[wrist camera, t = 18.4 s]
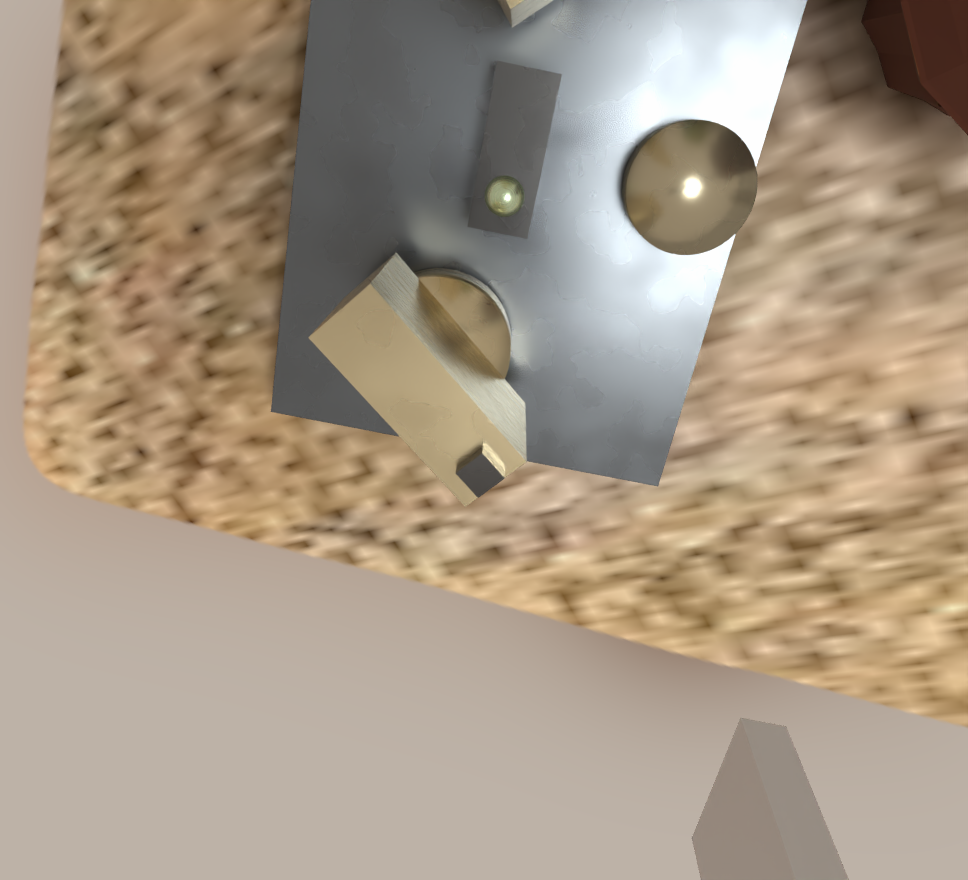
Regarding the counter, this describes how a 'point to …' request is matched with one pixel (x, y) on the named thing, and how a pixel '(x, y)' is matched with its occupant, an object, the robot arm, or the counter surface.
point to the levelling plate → (579, 237)
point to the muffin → (924, 50)
